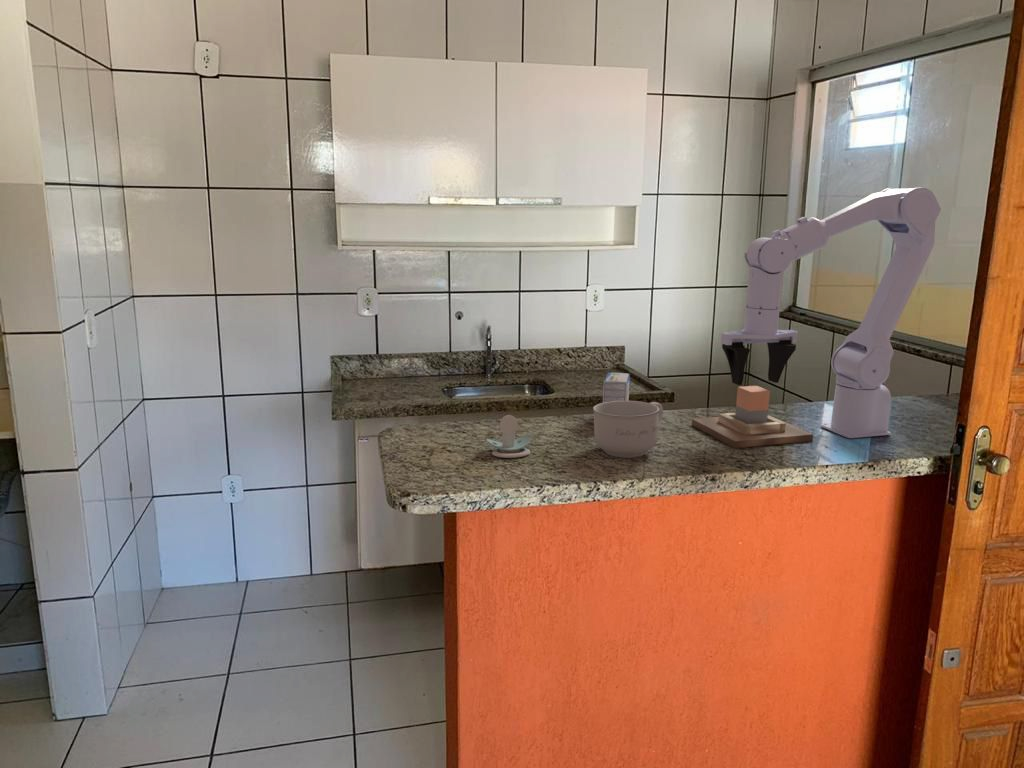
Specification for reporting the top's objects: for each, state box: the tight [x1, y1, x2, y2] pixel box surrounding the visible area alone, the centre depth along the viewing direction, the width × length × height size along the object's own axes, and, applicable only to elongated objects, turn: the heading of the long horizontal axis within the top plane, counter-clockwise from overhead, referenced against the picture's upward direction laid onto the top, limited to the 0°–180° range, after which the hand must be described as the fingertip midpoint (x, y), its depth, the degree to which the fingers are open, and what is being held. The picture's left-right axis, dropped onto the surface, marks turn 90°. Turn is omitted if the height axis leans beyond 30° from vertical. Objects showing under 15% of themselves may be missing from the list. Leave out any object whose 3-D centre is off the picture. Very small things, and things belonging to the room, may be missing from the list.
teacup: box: [592, 400, 664, 459], centre depth 127 cm, size 14×11×8 cm
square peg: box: [734, 385, 771, 424], centre depth 138 cm, size 4×4×7 cm
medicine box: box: [602, 372, 631, 403], centre depth 144 cm, size 8×4×9 cm, turn 168°
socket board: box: [691, 412, 814, 449], centre depth 139 cm, size 16×14×3 cm
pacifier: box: [486, 414, 531, 459], centre depth 125 cm, size 7×6×6 cm
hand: (755, 382), depth 137 cm, fingers open, 7 cm apart
